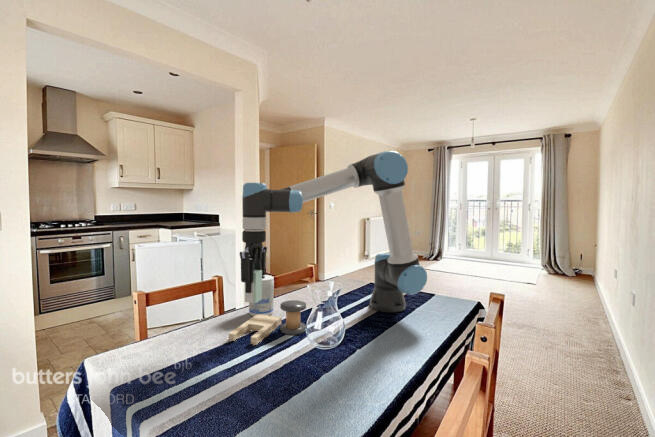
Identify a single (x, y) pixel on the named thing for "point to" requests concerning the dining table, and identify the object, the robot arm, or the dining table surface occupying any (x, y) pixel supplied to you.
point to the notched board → (257, 327)
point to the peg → (257, 286)
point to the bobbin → (293, 317)
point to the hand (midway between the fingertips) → (253, 299)
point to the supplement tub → (264, 298)
